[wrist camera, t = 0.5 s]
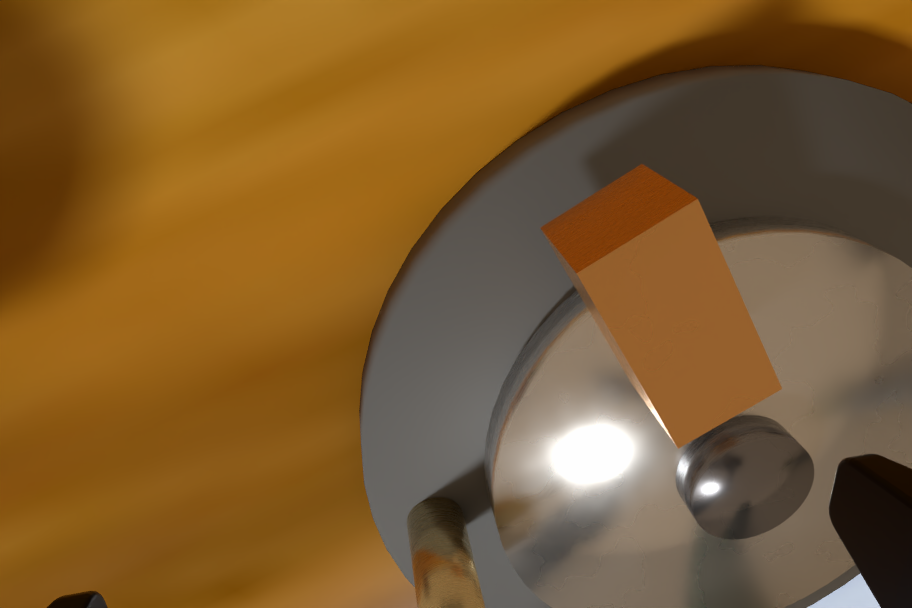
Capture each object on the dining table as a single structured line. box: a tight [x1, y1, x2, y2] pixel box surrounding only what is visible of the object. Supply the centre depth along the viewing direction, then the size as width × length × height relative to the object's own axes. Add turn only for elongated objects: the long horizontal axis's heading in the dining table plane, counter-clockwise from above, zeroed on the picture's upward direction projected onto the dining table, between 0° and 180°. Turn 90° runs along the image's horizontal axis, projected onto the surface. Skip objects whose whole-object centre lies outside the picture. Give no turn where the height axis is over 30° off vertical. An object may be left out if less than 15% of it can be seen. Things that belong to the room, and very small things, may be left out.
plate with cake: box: [484, 164, 912, 608], centre depth 21 cm, size 19×16×5 cm
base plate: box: [359, 65, 912, 608], centre depth 25 cm, size 24×24×2 cm
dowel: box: [407, 497, 485, 608], centre depth 22 cm, size 2×2×4 cm
